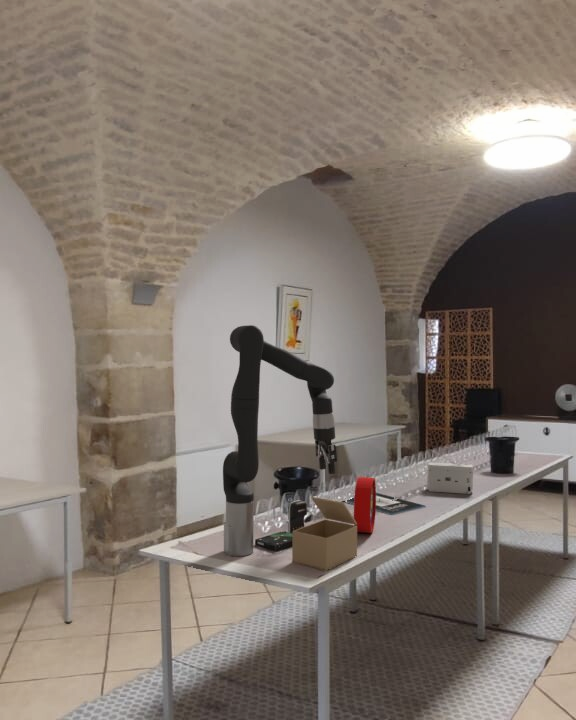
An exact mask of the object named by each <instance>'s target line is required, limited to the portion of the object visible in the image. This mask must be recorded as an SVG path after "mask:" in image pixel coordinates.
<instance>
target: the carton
mask: <svg viewBox="0 0 576 720" xmlns="http://www.w3.org/2000/svg"><path fill="white" fill-rule="evenodd" d="M292 534H293V542H292V547H291V548H292V551H291V553H292V555H291V556H292V557H291V560H292V561H291V562H292V563H294V564H297V565H301V566H305V567H309V568H314V569H317V570H321V571H324V570H326V571H325V572H327V571H329V570H331V569H333V568H332V567H334V566H336V567H337V565H338V564H340V563H342V562H344V563H345V561H346V562H348V561H350V560H352V559H354V558H356V557H358V532H357V526H355V525H354V524H350V523H345V522H341V521H336V520H331V519H326V518H323V519H321V520H318V521H316V522H313V523H310V524H308V525H304V527H302V528H299V529H297V530H294V531H293V533H292ZM355 556H356V557H355ZM353 557H354V558H353ZM351 558H352V559H351ZM349 559H350V560H349ZM347 560H348V561H347ZM342 564H343V563H342ZM340 565H341V564H340ZM338 566H339V565H338ZM334 568H335V567H334ZM328 569H329V570H328Z"/></svg>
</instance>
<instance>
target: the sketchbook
mask: <svg viewBox="0 0 576 720" xmlns="http://www.w3.org/2000/svg"><path fill="white" fill-rule="evenodd" d="M392 499H394V496H392V495H391V496H390V495H386V494H383V493H379V492H376V512H378V513H379V512H380V513H384V514H387V515H391V516H394V515H398V514H404V513H406V512H411V511H416V510H419V509H425V508H426V507H427V506H426V505H425V504H420V503H418V502H417V503H416V502H413V501H411V500H410V501H409V500H406V499H402V498H399V499H397V500H393V501H392ZM347 504H350V505H353V506H354V498H352V499H350V500H347ZM377 505H378V506H377Z"/></svg>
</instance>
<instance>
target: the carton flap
mask: <svg viewBox="0 0 576 720" xmlns="http://www.w3.org/2000/svg"><path fill="white" fill-rule="evenodd" d="M311 500H312V501H313V502H314V505H316V507H317V509H319V511H320V512H321V514H322V516H323V517H324V519H325V520H330V521H335V522H340V523H345V524H350V525H354V524H355V525H357V523H356V521H355V519H354V515H352V513H351V512H350V510H349V509H348V507H347V506H346V504H345V502H343V501H336V500H332V499H331V500H330V499H325V498H321V497H315V496H312V497H311Z"/></svg>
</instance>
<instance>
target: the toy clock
mask: <svg viewBox="0 0 576 720" xmlns="http://www.w3.org/2000/svg"><path fill="white" fill-rule="evenodd" d="M376 493H377V483H376V478H375V477H366V476H358V477H357V478H356V482H355V489H354V495H353V497H354V505H353V518H354V519H355V521H356V523H357V525H355V524H353V525H355V526H357V533H367V534H369V533H370V534H373V533H374V529H375V523H376V522H375V520H376V512H377V511H376Z"/></svg>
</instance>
